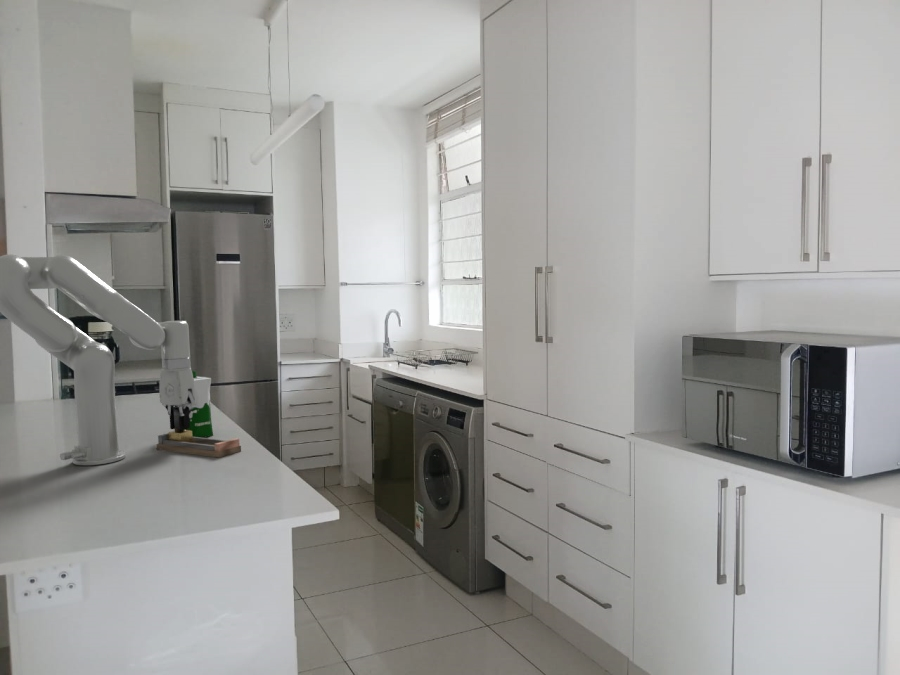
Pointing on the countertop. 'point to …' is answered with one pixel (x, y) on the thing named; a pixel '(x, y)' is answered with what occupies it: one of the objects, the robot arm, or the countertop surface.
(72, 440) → the countertop surface
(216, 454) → the rail base
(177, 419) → the slider
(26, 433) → the countertop surface
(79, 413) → the robot arm
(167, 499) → the countertop surface
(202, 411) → the milk carton
